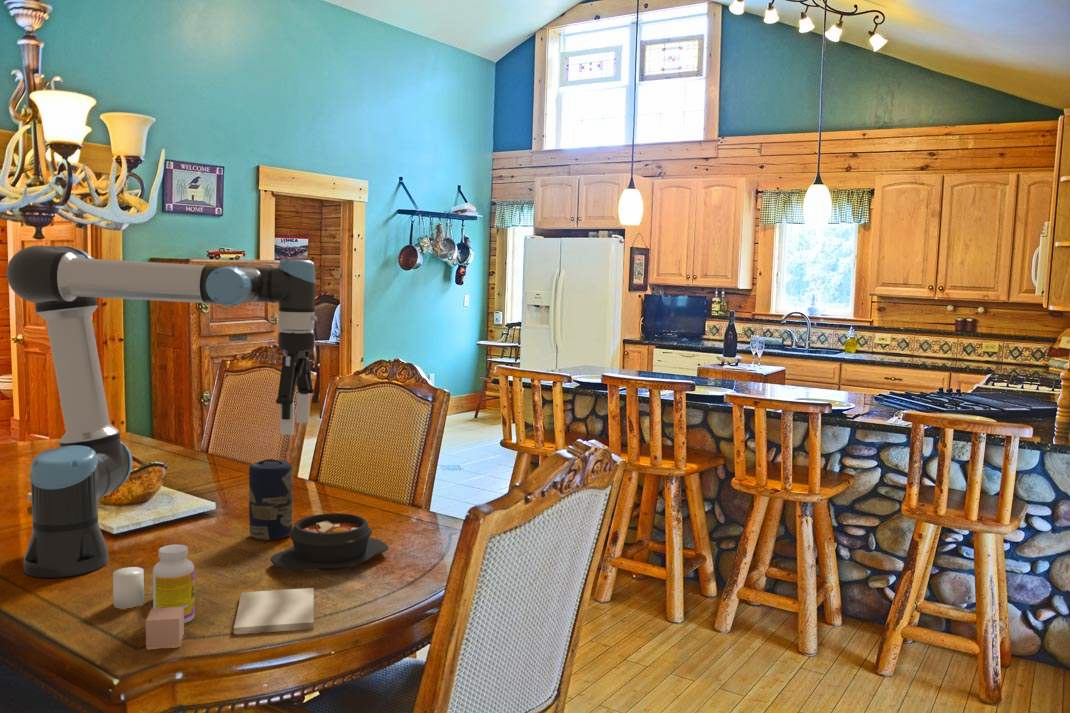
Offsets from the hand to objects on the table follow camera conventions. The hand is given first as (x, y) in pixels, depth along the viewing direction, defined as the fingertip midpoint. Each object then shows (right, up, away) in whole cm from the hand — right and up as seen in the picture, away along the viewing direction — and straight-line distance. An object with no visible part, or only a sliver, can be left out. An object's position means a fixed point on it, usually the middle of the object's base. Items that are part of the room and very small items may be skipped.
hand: (295, 428), depth 187 cm
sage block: (-14, -29, -28) cm, 43 cm away
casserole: (+9, -28, -6) cm, 30 cm away
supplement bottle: (-10, -30, -38) cm, 50 cm away
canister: (-8, -26, +9) cm, 28 cm away
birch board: (+6, -30, -34) cm, 46 cm away
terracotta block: (-8, -31, -47) cm, 57 cm away
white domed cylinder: (-21, -29, -31) cm, 48 cm away
